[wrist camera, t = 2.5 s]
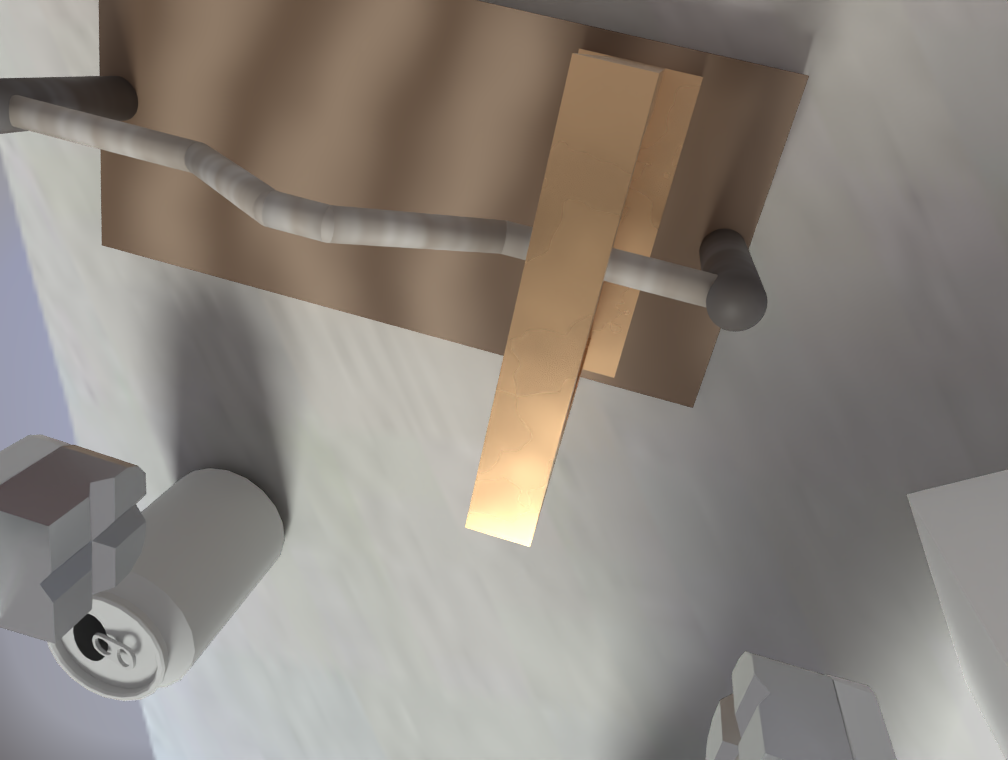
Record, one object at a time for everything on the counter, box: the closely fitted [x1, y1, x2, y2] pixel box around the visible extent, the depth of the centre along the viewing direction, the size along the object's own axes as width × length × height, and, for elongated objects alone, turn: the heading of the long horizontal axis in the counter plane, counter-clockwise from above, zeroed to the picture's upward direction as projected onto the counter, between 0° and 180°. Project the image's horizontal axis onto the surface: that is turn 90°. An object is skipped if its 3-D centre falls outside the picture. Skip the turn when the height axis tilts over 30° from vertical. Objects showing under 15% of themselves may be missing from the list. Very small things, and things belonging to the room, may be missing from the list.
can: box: [48, 468, 285, 701], centre depth 41 cm, size 8×8×12 cm
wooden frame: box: [465, 49, 703, 547], centre depth 27 cm, size 5×13×16 cm, turn 168°
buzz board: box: [0, 0, 809, 408], centre depth 30 cm, size 31×15×13 cm, turn 78°
